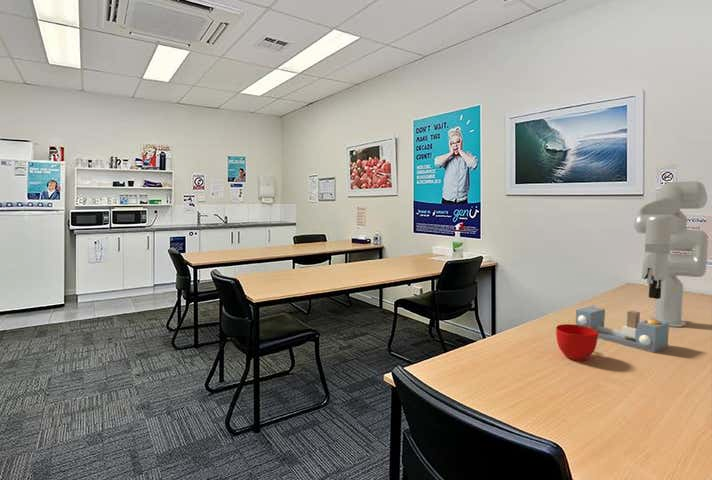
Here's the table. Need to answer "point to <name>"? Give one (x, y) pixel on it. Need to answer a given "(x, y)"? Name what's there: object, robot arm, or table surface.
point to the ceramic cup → (576, 341)
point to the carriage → (631, 325)
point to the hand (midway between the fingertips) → (654, 297)
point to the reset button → (653, 321)
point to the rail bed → (646, 336)
